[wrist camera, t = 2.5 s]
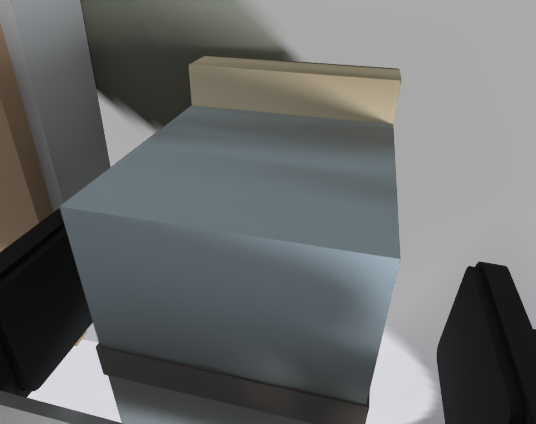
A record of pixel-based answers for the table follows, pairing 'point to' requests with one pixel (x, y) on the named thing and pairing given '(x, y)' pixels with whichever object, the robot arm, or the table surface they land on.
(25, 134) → the dock
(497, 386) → the robot arm
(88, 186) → the banded blue box
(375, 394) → the table surface
